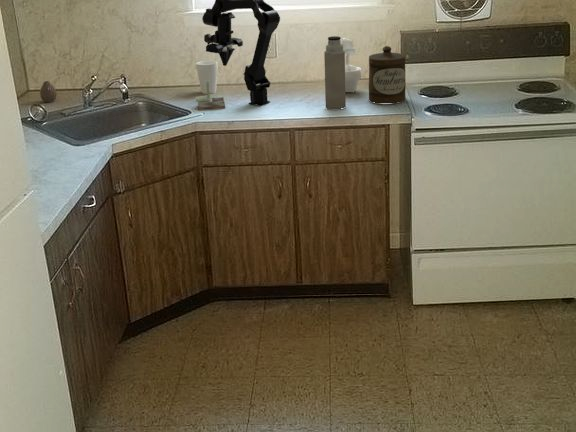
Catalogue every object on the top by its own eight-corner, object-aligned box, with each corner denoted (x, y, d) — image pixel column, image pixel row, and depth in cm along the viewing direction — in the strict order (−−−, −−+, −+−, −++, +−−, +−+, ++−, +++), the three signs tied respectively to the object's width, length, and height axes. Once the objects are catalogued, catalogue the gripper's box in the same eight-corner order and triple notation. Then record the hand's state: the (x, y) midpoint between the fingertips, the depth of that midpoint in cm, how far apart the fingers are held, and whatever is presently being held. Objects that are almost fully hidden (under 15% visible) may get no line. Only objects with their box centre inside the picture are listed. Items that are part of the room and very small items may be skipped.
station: (224, 103, 336) (223, 96, 335) (225, 108, 328) (224, 101, 327) (198, 105, 335) (197, 98, 334) (198, 110, 327) (197, 103, 326)
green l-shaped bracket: (210, 97, 333) (208, 79, 330) (210, 100, 328) (209, 82, 325) (195, 98, 333) (194, 80, 330) (195, 101, 327) (194, 83, 324)
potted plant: (332, 89, 351) (331, 31, 342) (359, 87, 352) (359, 29, 342) (336, 95, 340) (335, 36, 330) (363, 94, 340) (363, 34, 331)
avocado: (49, 99, 357) (46, 79, 353) (61, 100, 353) (58, 80, 350) (38, 102, 351) (34, 82, 348) (49, 104, 348) (46, 84, 345)
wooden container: (374, 106, 322) (374, 51, 313) (364, 97, 335) (364, 44, 327) (410, 103, 324) (411, 48, 316) (398, 94, 337) (399, 41, 329)
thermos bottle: (331, 104, 327) (329, 34, 317) (349, 106, 323) (348, 35, 313) (322, 108, 321) (320, 38, 310) (340, 110, 317) (338, 39, 307)
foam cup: (218, 94, 352) (216, 64, 347) (197, 94, 352) (194, 65, 347) (220, 89, 361) (218, 60, 356) (199, 89, 361) (197, 60, 356)
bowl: (212, 102, 334) (212, 97, 333) (212, 106, 329) (212, 101, 328) (197, 103, 334) (197, 98, 333) (198, 107, 328) (197, 102, 327)
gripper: (222, 22, 344) (222, 58, 351) (194, 29, 330) (195, 67, 336) (243, 25, 339) (243, 62, 346) (216, 33, 325) (217, 71, 331)
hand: (224, 65), depth 340 cm, fingers closed
